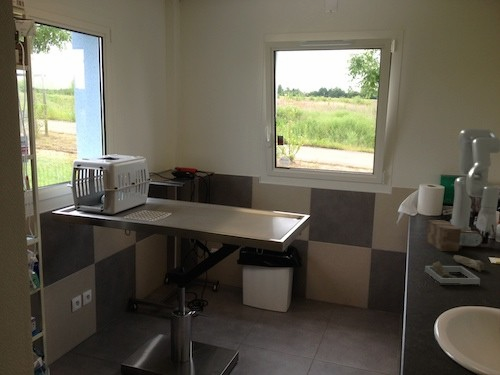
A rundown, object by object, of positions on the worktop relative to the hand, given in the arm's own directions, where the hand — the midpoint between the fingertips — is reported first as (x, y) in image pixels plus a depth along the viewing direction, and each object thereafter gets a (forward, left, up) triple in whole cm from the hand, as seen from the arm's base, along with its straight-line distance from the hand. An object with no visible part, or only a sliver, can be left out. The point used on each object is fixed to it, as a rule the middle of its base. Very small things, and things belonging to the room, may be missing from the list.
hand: (483, 243), depth 242 cm
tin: (0, -9, -2) cm, 9 cm away
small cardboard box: (0, -21, -2) cm, 21 cm away
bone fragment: (+30, -25, -2) cm, 40 cm away
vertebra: (+45, -45, -2) cm, 63 cm away
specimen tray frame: (+45, -41, -2) cm, 61 cm away
